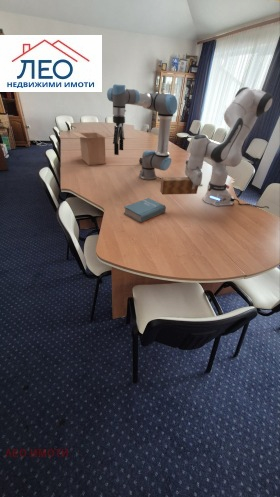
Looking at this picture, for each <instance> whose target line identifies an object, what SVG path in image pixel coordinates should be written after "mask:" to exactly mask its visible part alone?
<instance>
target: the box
mask: <svg viewBox="0 0 280 497" xmlns="http://www.w3.org/2000/svg"><path fill="white" fill-rule="evenodd" d="M70 133H71V134H72V135H74V136H75V137H77V138H79V144H80V153H81V160H83V162H85V163H86V165H87V166H95V165H97V166H98V165H106V163H107V162H106V158H107V157H106V138H114V135H111V134H109V133H108V132H105V131H98V132H96V131H95V130H92V129H91V130H77V132H76V131H70Z"/></svg>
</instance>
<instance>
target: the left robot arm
mask: <svg viewBox="0 0 280 497" xmlns="http://www.w3.org/2000/svg"><path fill="white" fill-rule="evenodd" d="M106 98H107V100H108V101H109V102H111V103H112V123H114V124H115V125H114V129H113V130H114V131H113V140H112V144H113V154H114V156H119V155H120V154H119V153H120V151H124V141H125V130H124V124H125V123H126V112H127V110H126V105H132V106H137V107H142V108H143V109H147V110H150V111H153V112H156V113H157V116H158V118H159V122H158V124H159V125H158V136H157V150H153V149H151V150H145V151H143V152H142V157H141V158H142V164H141V169H140V170H139V178H140V179H142V180H146V181H154V180H156V178H157V179H160V180H161V179H162V177H159V176H157V174H156V169H157V170H158V171H167V170H168V169H169V168H170V166H171V164H172V158H171V156H170V152H169V142H170V131H171V123H172V122H171V121H172V118H173V117H174V114H175V113H177V110H178V104H179V103H178V99H177V97H176V96H175V95H174V94H171V93H159V92H154V93H150V92H145V93H141V92H140V91H138V90H137V89H131V88H130V89H128V88H127V87H126V85H125V84H116V83H115V84H113V85H112V87H109V88H108V89H107V92H106ZM200 186H203V184H200Z"/></svg>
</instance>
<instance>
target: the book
mask: <svg viewBox="0 0 280 497" xmlns="http://www.w3.org/2000/svg"><path fill="white" fill-rule="evenodd" d="M166 209H167V207H166V205H165V204H162V203H161V202H159V201H156V200H154V199H152V198H151V197H148V198H145V199H142V200H139V201H136V202H134V203H131V204H127V205H125V206H124V212H123V214H124V215H126V216H128V217H130V219H133V220H134V221H137V222H138V223H143V222H145V221H147V220H150V219H152V218H154V217H156V216H158V215H161V214H164V213H166Z"/></svg>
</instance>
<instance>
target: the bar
mask: <svg viewBox="0 0 280 497" xmlns="http://www.w3.org/2000/svg"><path fill="white" fill-rule="evenodd" d="M161 178H162V179H160V187H159V188H160V189H159V192H160V193H161V195H163V196H164V195H197V194H198V190H199V185H196V186H195V189H192V188H191V186H192V185H193V182H192V181H191V179H190V178H189V177H187V176H180V177H179V176H174V177H173V176H170V177H169V176H168V177H167V176H165V177H161Z"/></svg>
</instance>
